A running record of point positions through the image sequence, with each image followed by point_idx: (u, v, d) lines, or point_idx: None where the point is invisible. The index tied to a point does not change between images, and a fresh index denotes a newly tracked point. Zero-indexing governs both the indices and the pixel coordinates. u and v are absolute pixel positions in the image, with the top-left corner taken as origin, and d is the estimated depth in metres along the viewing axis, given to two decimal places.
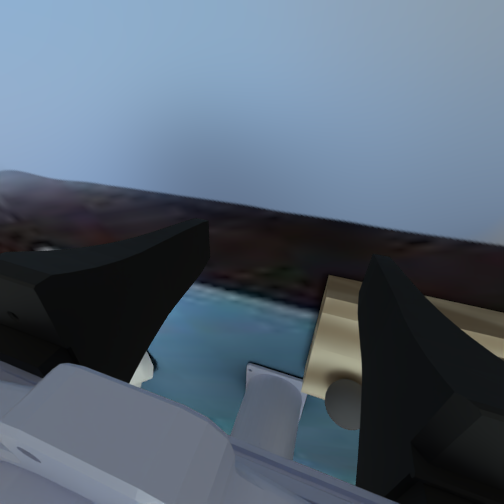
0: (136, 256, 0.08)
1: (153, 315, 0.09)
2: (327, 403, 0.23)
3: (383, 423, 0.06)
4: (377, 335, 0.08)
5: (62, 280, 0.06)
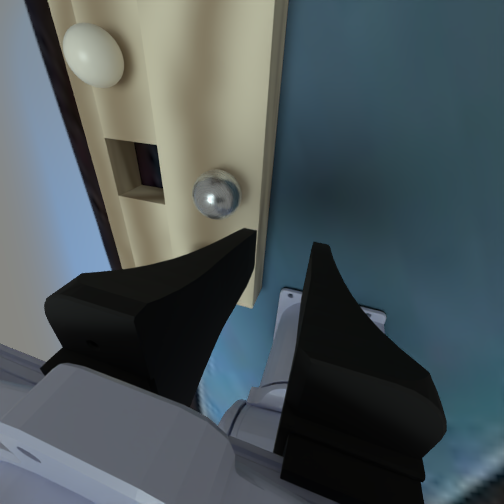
0: (206, 274, 0.07)
1: (211, 333, 0.09)
2: None
3: (286, 390, 0.07)
4: (302, 315, 0.08)
5: (154, 308, 0.05)
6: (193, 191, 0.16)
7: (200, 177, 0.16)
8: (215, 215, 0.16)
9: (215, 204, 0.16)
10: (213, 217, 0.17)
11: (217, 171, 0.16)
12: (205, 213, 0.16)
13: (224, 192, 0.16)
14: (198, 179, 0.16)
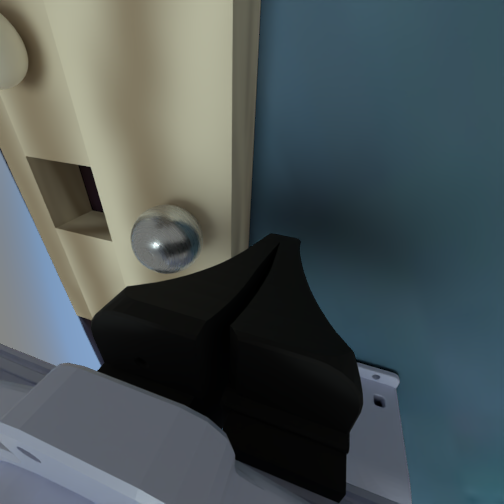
0: (246, 285, 0.07)
1: None
2: None
3: None
4: None
5: (210, 324, 0.05)
6: (131, 237, 0.11)
7: (140, 218, 0.11)
8: (163, 271, 0.11)
9: (159, 258, 0.11)
10: (161, 272, 0.12)
11: (164, 209, 0.11)
12: (148, 268, 0.11)
13: (172, 241, 0.11)
14: (137, 220, 0.11)
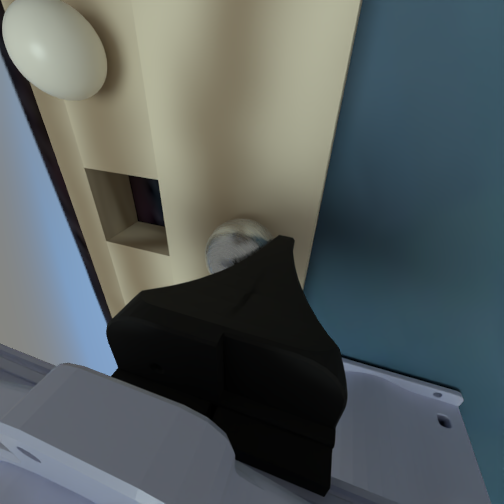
0: (260, 288, 0.07)
1: None
2: None
3: None
4: None
5: None
6: (206, 249, 0.11)
7: (218, 230, 0.11)
8: None
9: None
10: None
11: (244, 224, 0.11)
12: None
13: None
14: (215, 233, 0.11)
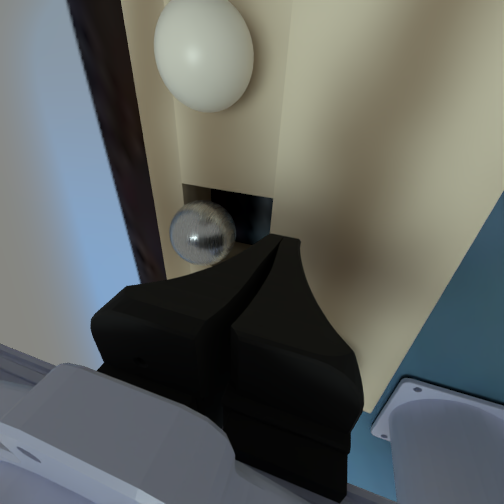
0: (246, 285, 0.07)
1: None
2: None
3: None
4: None
5: (209, 325, 0.05)
6: (209, 241, 0.11)
7: (201, 220, 0.11)
8: None
9: (235, 231, 0.13)
10: None
11: (201, 202, 0.12)
12: (228, 252, 0.13)
13: (229, 214, 0.13)
14: (201, 224, 0.11)
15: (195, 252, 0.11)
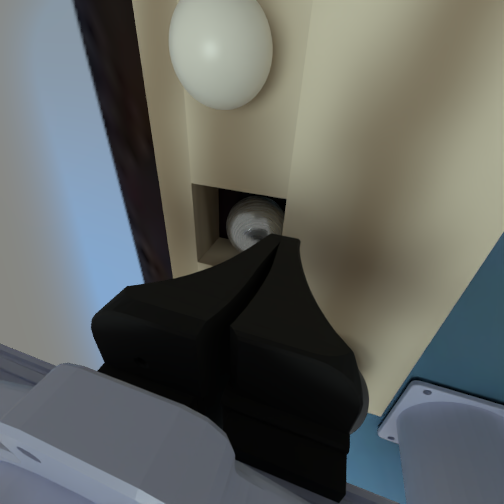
0: (247, 285, 0.07)
1: None
2: None
3: None
4: None
5: (210, 325, 0.05)
6: (233, 230, 0.13)
7: (239, 211, 0.13)
8: None
9: None
10: None
11: (258, 199, 0.13)
12: None
13: (276, 224, 0.13)
14: (237, 214, 0.13)
15: (227, 232, 0.13)
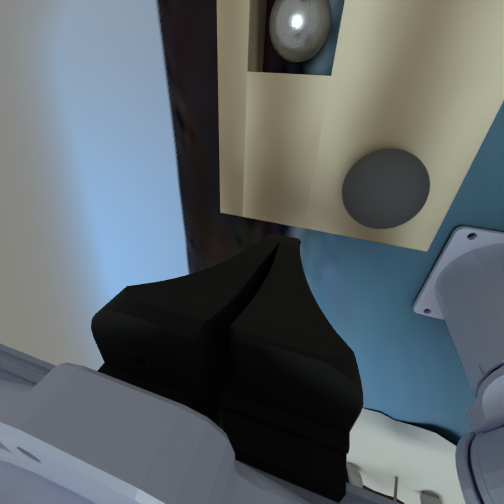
0: (247, 284, 0.07)
1: None
2: (367, 226, 0.14)
3: None
4: None
5: (210, 324, 0.05)
6: (273, 13, 0.13)
7: None
8: (302, 42, 0.13)
9: (305, 18, 0.12)
10: (298, 48, 0.13)
11: None
12: (289, 41, 0.13)
13: (316, 0, 0.12)
14: None
15: (269, 26, 0.14)
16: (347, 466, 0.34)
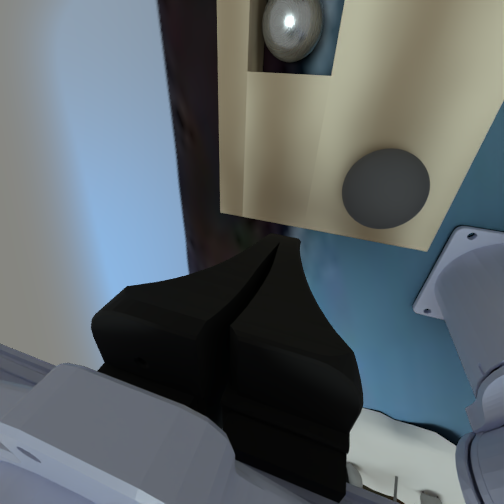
0: (247, 284, 0.07)
1: None
2: (367, 226, 0.14)
3: None
4: None
5: (210, 325, 0.05)
6: (264, 14, 0.13)
7: None
8: (288, 41, 0.13)
9: (289, 18, 0.12)
10: (286, 47, 0.13)
11: None
12: (276, 40, 0.13)
13: None
14: None
15: None
16: (347, 466, 0.34)
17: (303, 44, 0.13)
